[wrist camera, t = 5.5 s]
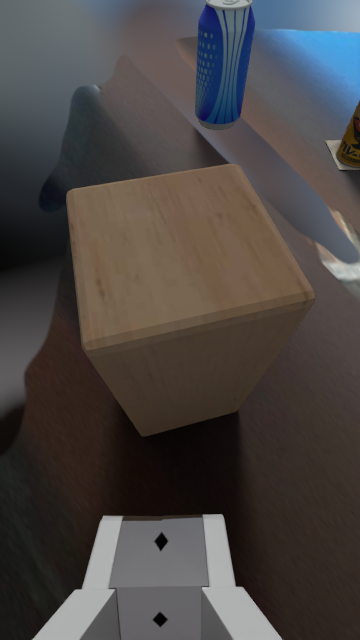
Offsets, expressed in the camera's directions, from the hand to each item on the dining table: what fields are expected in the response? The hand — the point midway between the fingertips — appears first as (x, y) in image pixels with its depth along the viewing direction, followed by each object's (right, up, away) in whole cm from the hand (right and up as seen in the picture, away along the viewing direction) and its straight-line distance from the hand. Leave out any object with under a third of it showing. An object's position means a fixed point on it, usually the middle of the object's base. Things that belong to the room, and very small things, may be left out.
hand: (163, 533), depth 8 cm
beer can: (+7, +43, +49) cm, 66 cm away
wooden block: (0, -1, +24) cm, 24 cm away
